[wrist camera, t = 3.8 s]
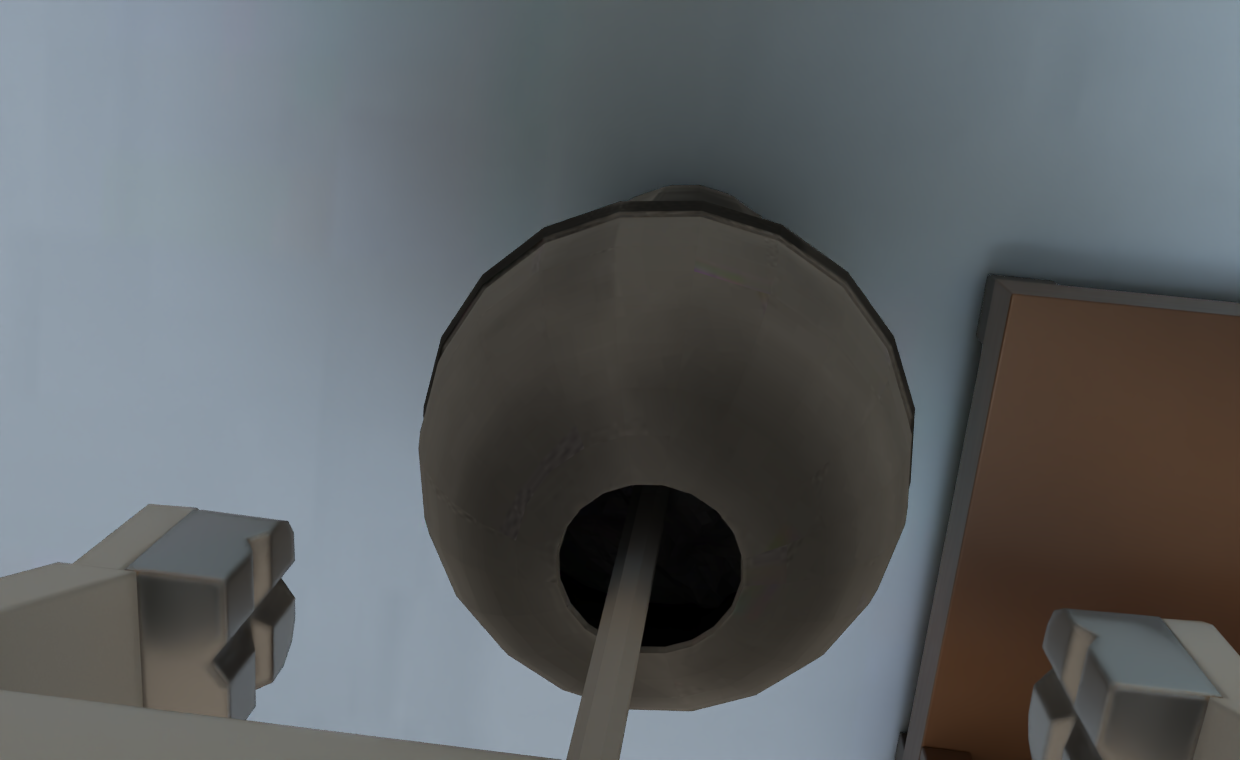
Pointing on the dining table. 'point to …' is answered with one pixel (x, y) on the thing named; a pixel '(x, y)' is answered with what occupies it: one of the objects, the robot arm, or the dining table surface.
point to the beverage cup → (665, 455)
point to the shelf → (1079, 496)
